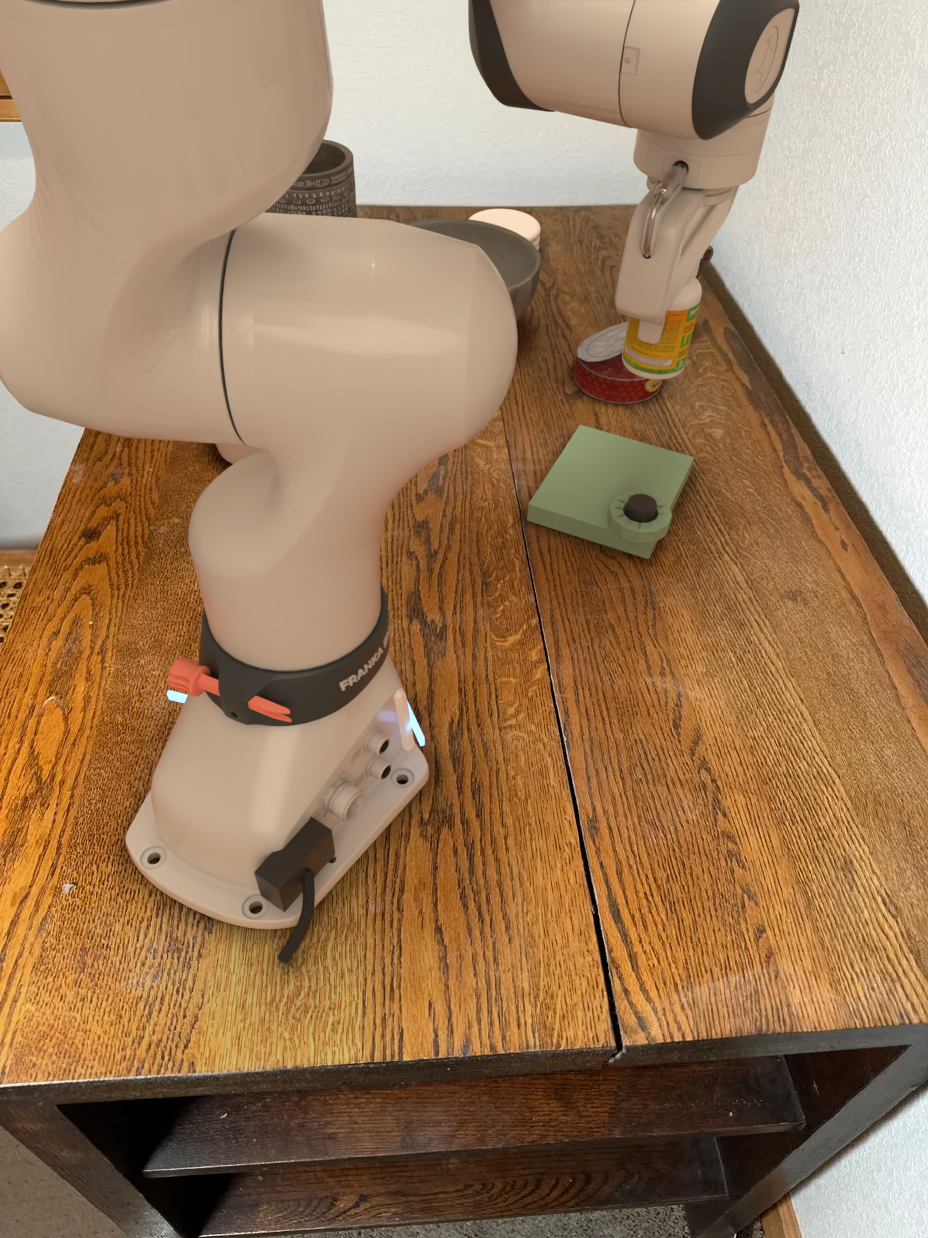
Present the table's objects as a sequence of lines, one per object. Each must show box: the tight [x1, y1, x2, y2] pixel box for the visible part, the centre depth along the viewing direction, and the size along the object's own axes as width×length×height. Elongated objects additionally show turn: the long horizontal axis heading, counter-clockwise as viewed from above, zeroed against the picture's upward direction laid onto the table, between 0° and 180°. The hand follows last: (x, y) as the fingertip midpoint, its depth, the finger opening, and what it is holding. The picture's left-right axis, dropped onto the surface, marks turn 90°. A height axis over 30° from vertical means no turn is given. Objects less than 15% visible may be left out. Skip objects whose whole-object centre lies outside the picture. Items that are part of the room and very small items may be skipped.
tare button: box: [626, 494, 657, 523], centre depth 83 cm, size 3×3×1 cm
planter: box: [265, 138, 358, 218], centre depth 118 cm, size 12×12×13 cm
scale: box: [526, 424, 695, 560], centre depth 89 cm, size 15×13×4 cm
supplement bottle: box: [622, 256, 703, 381], centre depth 76 cm, size 5×5×10 cm
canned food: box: [573, 320, 663, 405], centre depth 102 cm, size 11×10×10 cm
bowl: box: [404, 217, 542, 323], centre depth 107 cm, size 20×20×10 cm
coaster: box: [468, 208, 541, 251], centre depth 124 cm, size 10×10×4 cm
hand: (662, 318), depth 76 cm, fingers closed on supplement bottle, 5 cm apart
